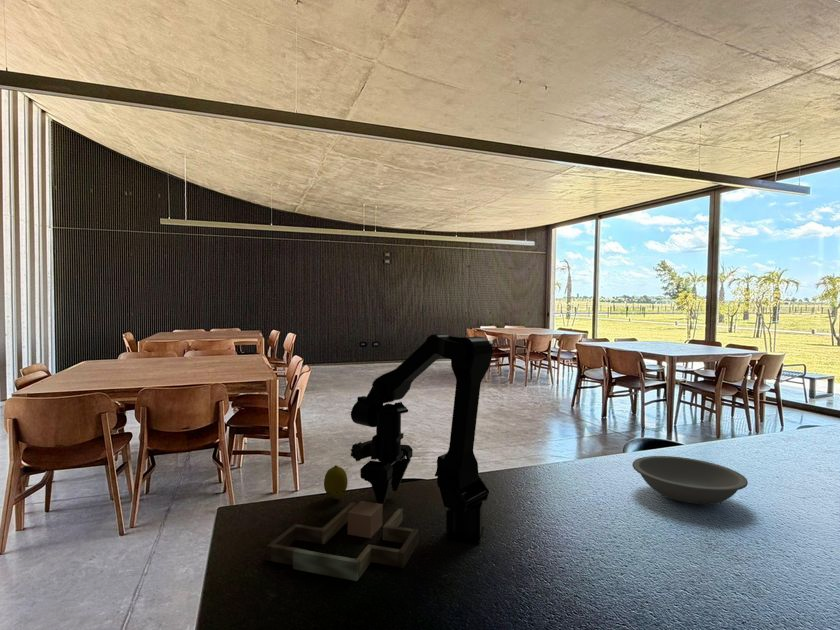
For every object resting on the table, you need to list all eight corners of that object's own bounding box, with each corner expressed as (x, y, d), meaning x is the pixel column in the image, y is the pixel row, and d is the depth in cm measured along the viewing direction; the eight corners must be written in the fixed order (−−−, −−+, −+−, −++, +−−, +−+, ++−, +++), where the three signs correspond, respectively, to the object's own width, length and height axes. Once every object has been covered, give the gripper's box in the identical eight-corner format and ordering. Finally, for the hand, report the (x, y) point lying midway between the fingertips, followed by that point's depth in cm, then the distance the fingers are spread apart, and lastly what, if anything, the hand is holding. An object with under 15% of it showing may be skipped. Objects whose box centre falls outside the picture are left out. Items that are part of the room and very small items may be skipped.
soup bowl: (636, 508, 102) (636, 480, 102) (629, 475, 124) (629, 451, 124) (763, 527, 93) (763, 496, 93) (731, 487, 115) (731, 462, 115)
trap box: (429, 524, 93) (429, 510, 93) (391, 587, 71) (391, 568, 71) (327, 509, 100) (327, 496, 100) (262, 563, 78) (263, 545, 78)
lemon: (342, 504, 103) (342, 470, 103) (319, 502, 104) (320, 468, 104) (350, 495, 108) (351, 462, 108) (329, 493, 109) (329, 461, 109)
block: (382, 525, 93) (382, 504, 93) (370, 539, 87) (370, 515, 87) (360, 522, 94) (360, 500, 94) (347, 535, 88) (347, 512, 88)
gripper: (372, 419, 114) (371, 480, 114) (338, 437, 96) (338, 509, 96) (413, 422, 111) (412, 485, 111) (386, 442, 93) (385, 516, 93)
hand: (388, 497), depth 103 cm, fingers open, 9 cm apart
